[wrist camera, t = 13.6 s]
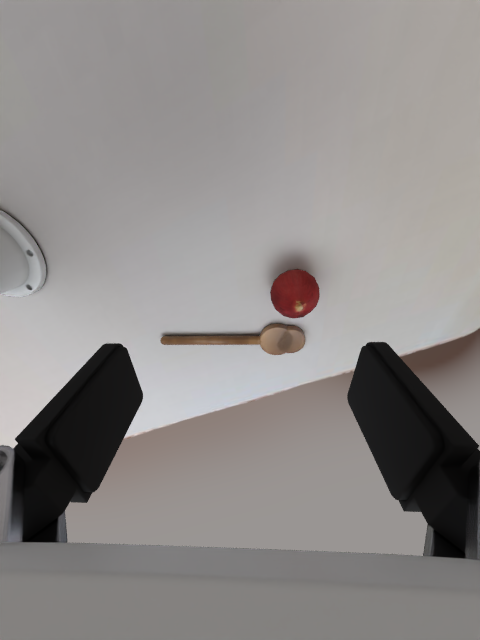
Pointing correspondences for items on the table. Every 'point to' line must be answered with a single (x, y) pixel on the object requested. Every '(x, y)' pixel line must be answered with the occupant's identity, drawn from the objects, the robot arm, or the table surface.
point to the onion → (295, 293)
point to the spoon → (250, 339)
